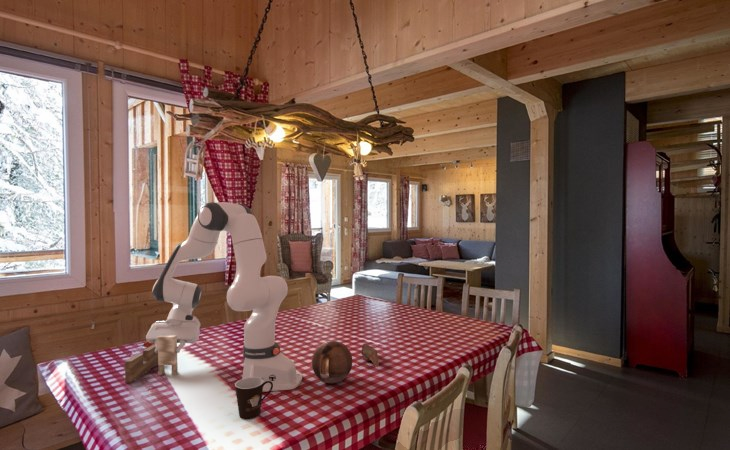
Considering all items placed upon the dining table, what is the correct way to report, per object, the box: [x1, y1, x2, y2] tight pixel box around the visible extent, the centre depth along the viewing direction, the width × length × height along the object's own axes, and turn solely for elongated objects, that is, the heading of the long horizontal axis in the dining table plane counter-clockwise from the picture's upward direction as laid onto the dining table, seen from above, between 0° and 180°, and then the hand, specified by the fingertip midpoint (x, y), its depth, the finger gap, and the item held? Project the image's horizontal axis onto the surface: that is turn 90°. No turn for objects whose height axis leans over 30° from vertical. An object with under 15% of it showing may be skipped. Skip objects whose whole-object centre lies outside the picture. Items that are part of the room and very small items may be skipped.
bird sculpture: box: [361, 343, 380, 368], centre depth 170 cm, size 7×25×5 cm, turn 15°
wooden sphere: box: [311, 340, 353, 384], centre depth 151 cm, size 15×15×15 cm
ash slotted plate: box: [157, 335, 179, 376], centre depth 160 cm, size 6×2×15 cm, turn 89°
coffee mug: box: [234, 377, 273, 420], centre depth 127 cm, size 12×9×10 cm
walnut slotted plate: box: [124, 344, 158, 383], centre depth 162 cm, size 2×20×8 cm, turn 179°
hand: (166, 352), depth 159 cm, fingers closed on ash slotted plate, 6 cm apart
